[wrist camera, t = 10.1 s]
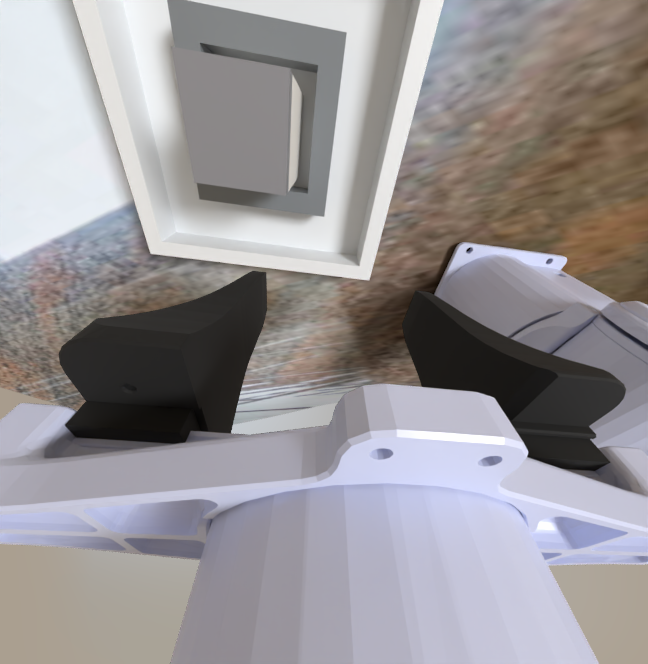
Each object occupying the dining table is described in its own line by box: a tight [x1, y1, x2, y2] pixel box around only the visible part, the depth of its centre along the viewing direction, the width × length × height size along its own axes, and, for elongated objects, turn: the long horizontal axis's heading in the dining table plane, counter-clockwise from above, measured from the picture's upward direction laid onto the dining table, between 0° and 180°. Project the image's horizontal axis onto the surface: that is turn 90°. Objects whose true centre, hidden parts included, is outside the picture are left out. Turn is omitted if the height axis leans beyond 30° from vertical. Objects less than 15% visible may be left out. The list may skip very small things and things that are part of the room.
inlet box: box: [72, 0, 444, 280], centre depth 15 cm, size 16×16×3 cm
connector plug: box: [171, 46, 303, 196], centre depth 12 cm, size 4×4×7 cm
